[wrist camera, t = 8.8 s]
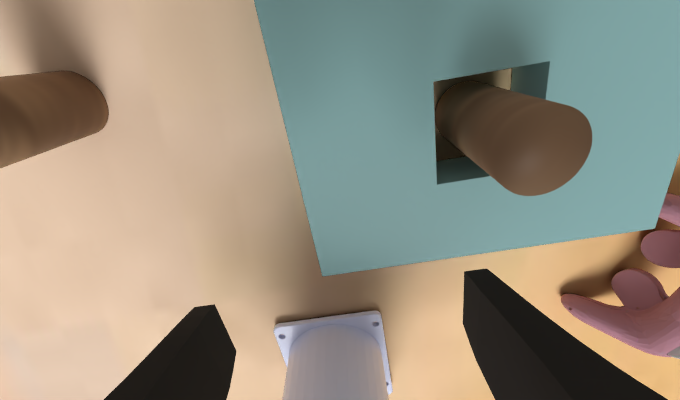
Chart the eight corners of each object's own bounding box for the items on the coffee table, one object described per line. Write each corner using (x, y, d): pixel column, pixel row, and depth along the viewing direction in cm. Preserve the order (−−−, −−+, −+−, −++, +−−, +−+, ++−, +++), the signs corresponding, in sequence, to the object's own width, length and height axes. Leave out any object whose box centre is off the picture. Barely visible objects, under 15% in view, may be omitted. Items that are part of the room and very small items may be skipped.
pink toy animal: (579, 294, 25) (694, 373, 20) (550, 305, 23) (671, 398, 17) (663, 182, 21) (838, 245, 15) (637, 181, 18) (832, 256, 13)
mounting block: (610, 202, 19) (654, 228, 17) (323, 245, 20) (322, 276, 18) (681, -89, 13) (770, -124, 11) (265, -6, 14) (249, -17, 12)
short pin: (493, 137, 17) (582, 189, 11) (435, 146, 18) (491, 202, 11) (496, 76, 16) (601, 96, 10) (434, 86, 16) (497, 112, 10)
